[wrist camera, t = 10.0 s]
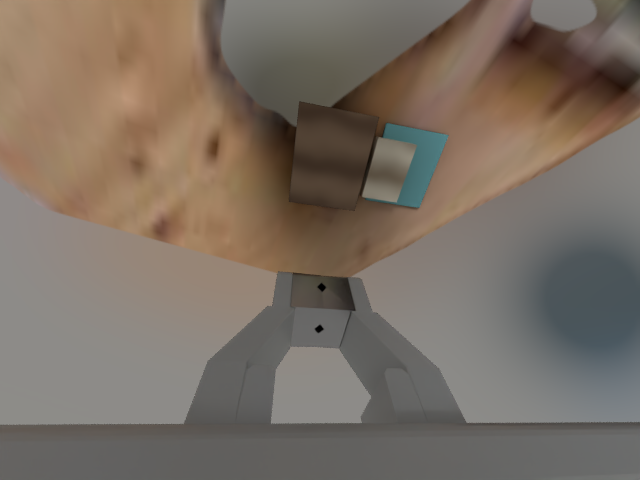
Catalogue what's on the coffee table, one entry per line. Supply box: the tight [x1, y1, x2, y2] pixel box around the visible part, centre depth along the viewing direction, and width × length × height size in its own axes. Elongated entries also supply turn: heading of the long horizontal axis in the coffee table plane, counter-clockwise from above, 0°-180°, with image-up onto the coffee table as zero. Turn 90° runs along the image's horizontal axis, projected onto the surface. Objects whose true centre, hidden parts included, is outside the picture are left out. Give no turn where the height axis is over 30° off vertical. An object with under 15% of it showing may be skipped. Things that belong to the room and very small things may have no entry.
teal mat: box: [365, 123, 449, 208], centre depth 37 cm, size 12×10×1 cm
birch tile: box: [360, 136, 417, 203], centre depth 36 cm, size 9×6×2 cm, turn 170°
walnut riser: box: [289, 102, 379, 211], centre depth 35 cm, size 14×11×2 cm
